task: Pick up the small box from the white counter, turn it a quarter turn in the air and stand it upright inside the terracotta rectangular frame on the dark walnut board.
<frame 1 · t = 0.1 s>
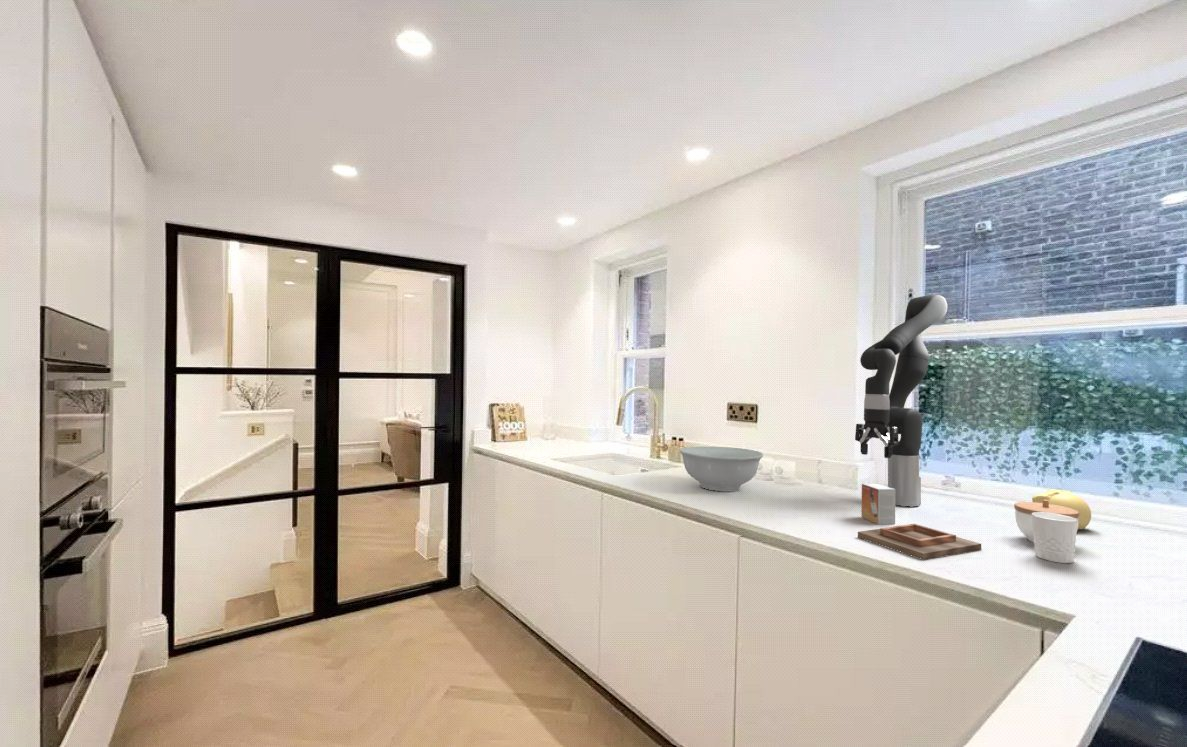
hand: (875, 456, 165), 17 cm above the worktop, tool pointing down, fingers open, 8 cm apart
sculpture: (1062, 527, 144), on the worktop
white cup: (1054, 559, 118), on the worktop
walnut board: (917, 543, 128), on the worktop
lidded bowl: (1046, 543, 130), on the worktop
bowl: (720, 488, 195), on the worktop
small box: (878, 521, 149), on the worktop
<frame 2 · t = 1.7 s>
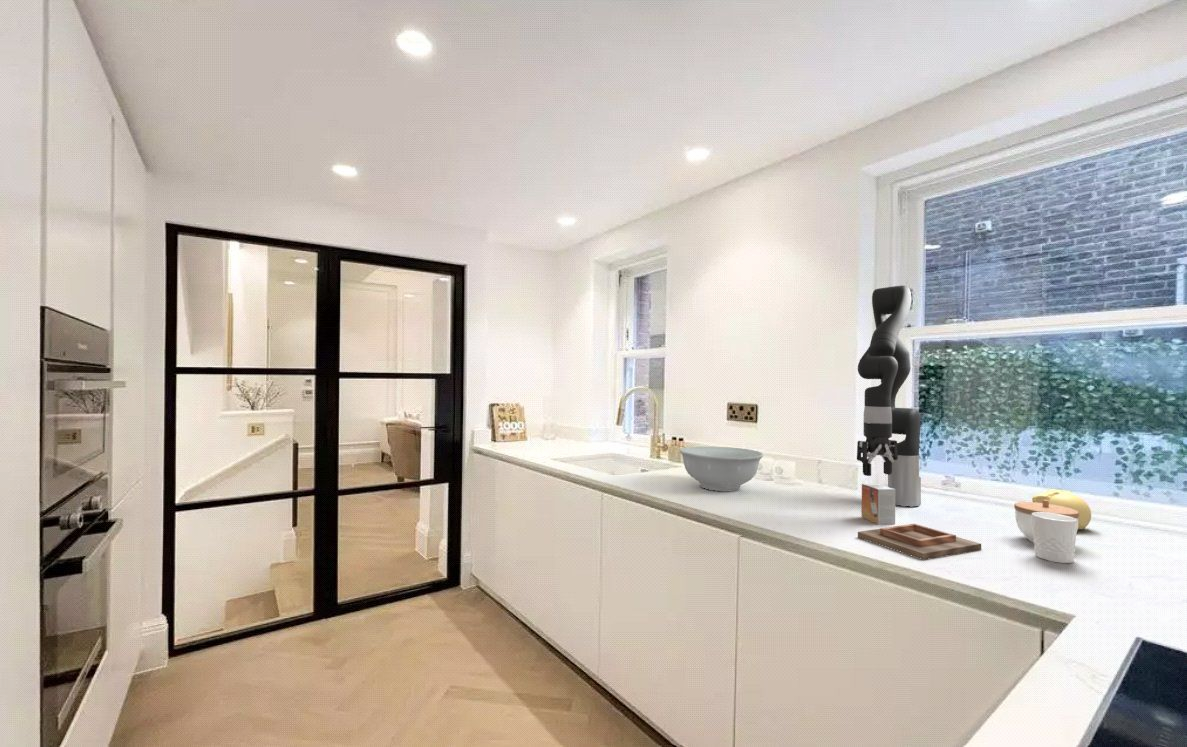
hand: (877, 474, 149), 14 cm above the worktop, tool pointing down, fingers open, 8 cm apart
nothing on the worktop moved.
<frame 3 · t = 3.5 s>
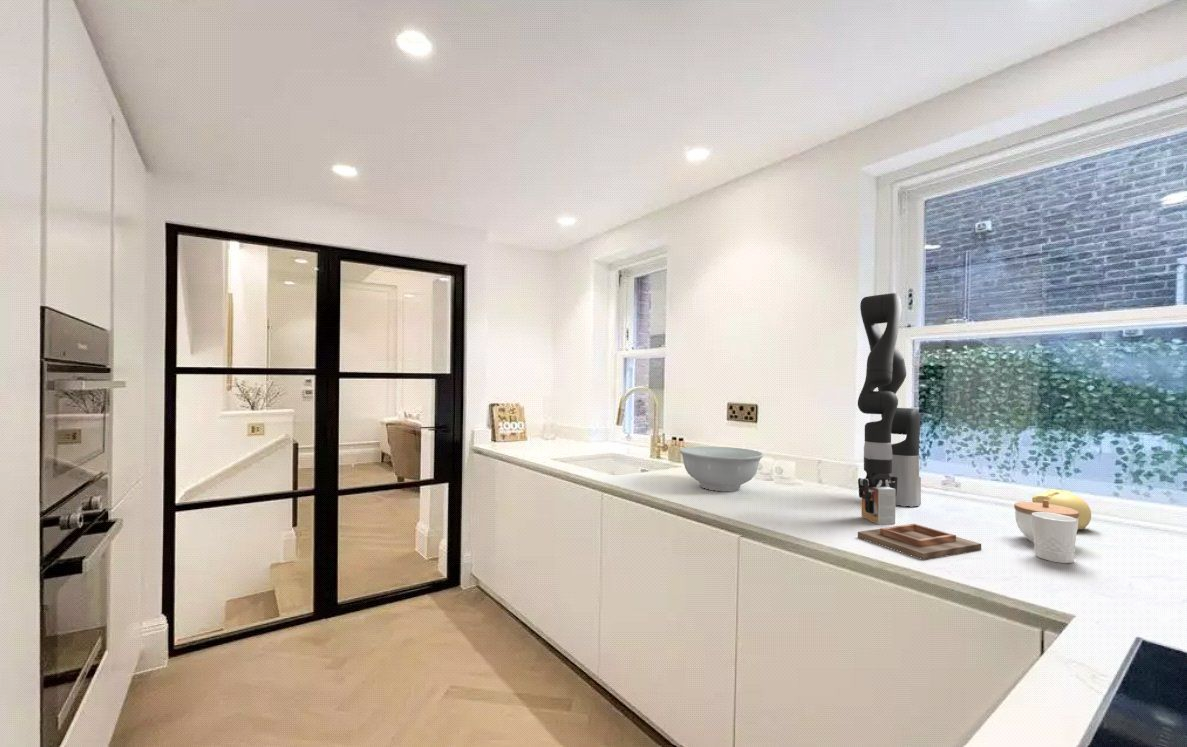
hand: (878, 511, 149), 3 cm above the worktop, tool pointing down, fingers closed on small box, 6 cm apart
small box: (878, 521, 149), on the worktop, touching gripper
everything else where it was.
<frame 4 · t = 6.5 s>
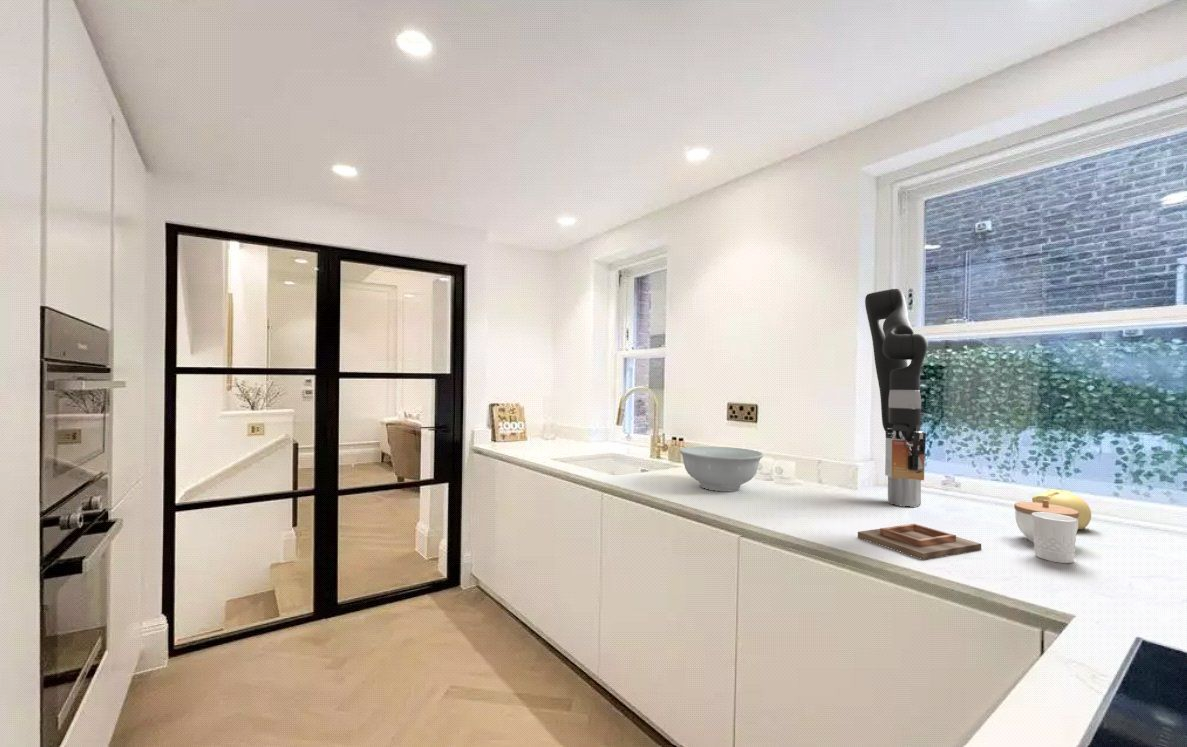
hand: (904, 467, 134), 19 cm above the worktop, tool pointing down, fingers closed on small box, 6 cm apart
small box: (904, 478, 134), point 16 cm above the worktop, touching gripper
everything else where it was.
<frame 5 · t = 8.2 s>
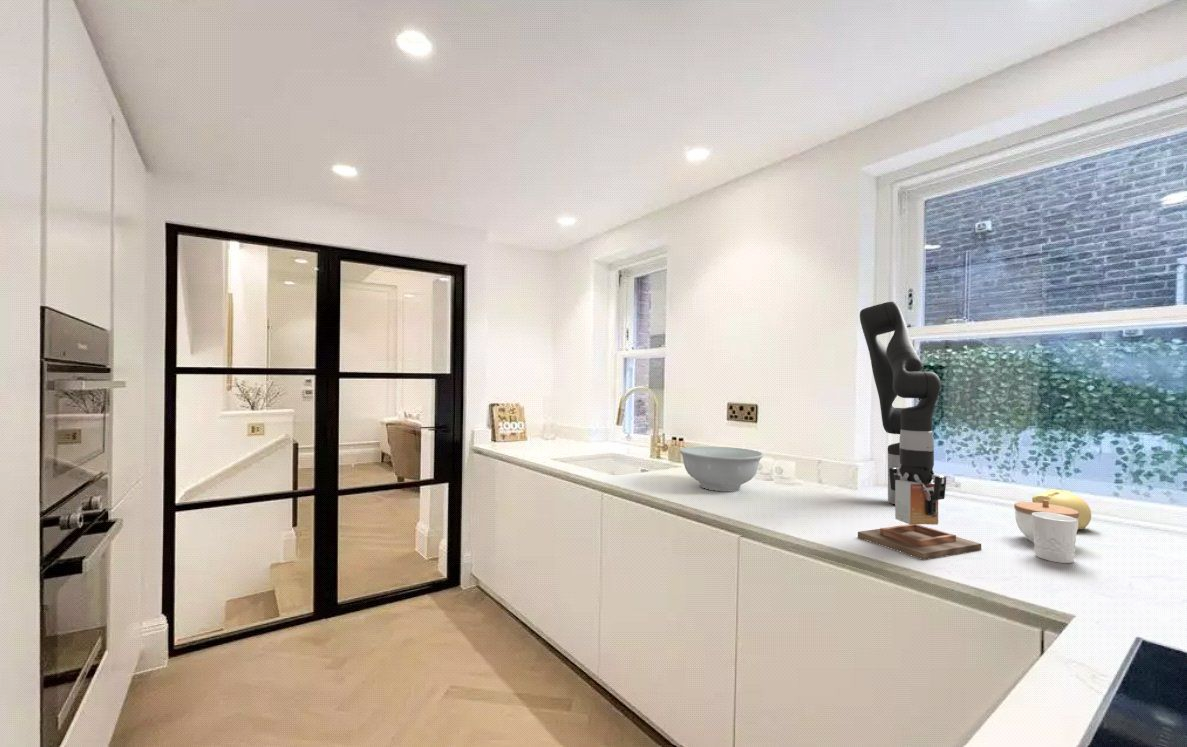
hand: (916, 511, 128), 8 cm above the worktop, tool pointing down, fingers closed on small box, 6 cm apart
small box: (916, 522, 128), point 5 cm above the worktop, touching gripper
everything else where it was.
when the fingers open (6 cm above the worktop, at t = 9.6 s): small box drops 1 cm, resting on walnut board.
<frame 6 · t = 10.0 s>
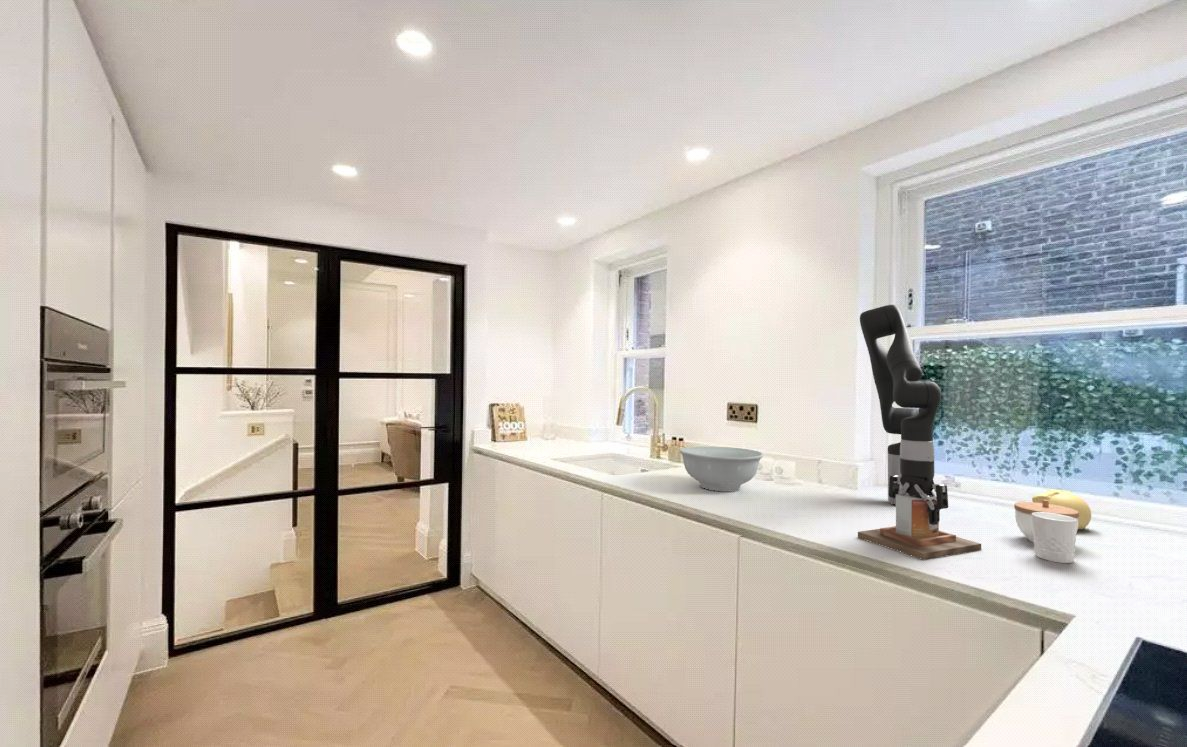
hand: (917, 519, 128), 6 cm above the worktop, tool pointing down, fingers open, 8 cm apart
small box: (917, 538, 128), point 1 cm above the worktop, touching walnut board
everything else where it was.
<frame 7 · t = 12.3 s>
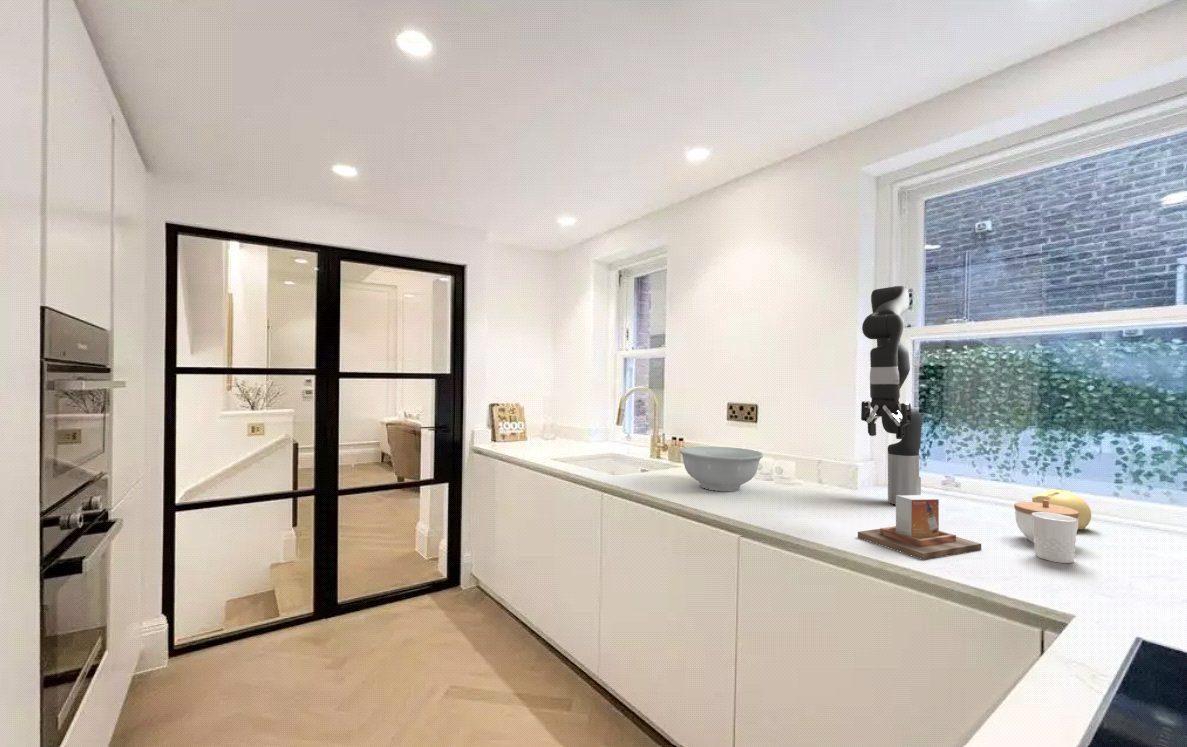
hand: (885, 437, 145), 26 cm above the worktop, tool pointing down, fingers open, 8 cm apart
nothing on the worktop moved.
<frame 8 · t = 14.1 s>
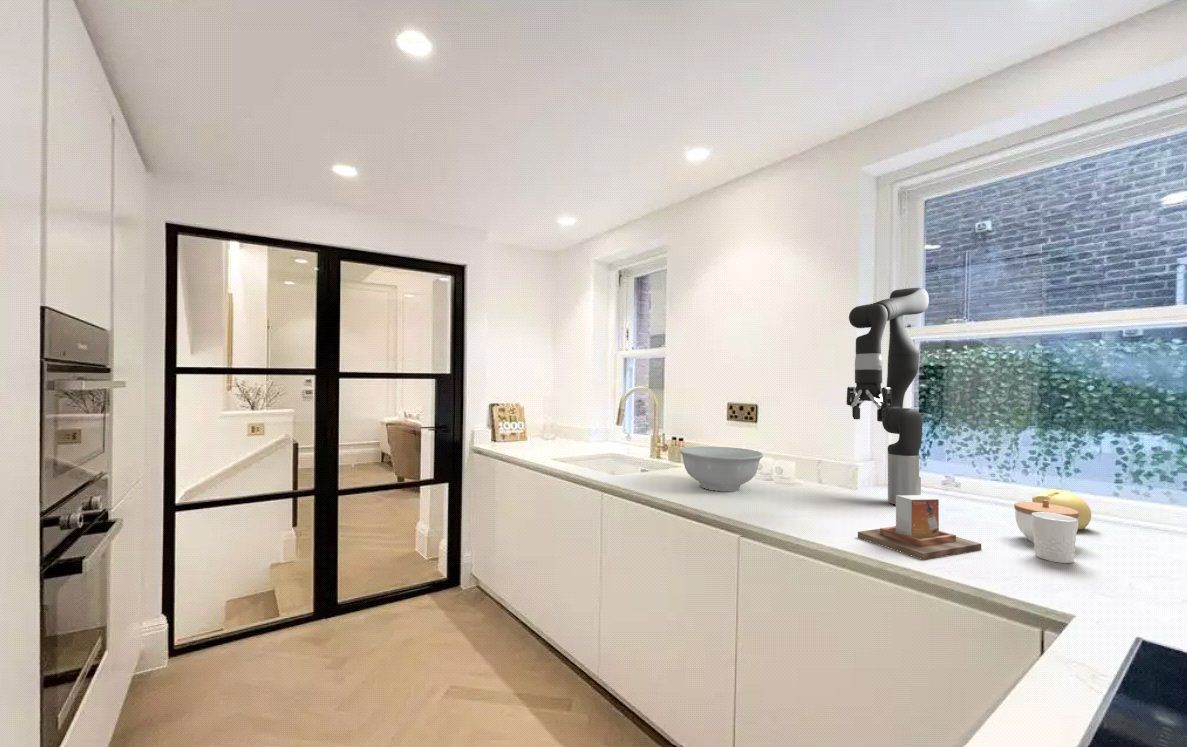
hand: (868, 420, 154), 30 cm above the worktop, tool pointing down, fingers open, 8 cm apart
nothing on the worktop moved.
at the end: small box 0.1 cm off-centre on the walnut board, point 1.3 cm above the walnut board's base; small box tilted 0°; the gripper is holding nothing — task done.
